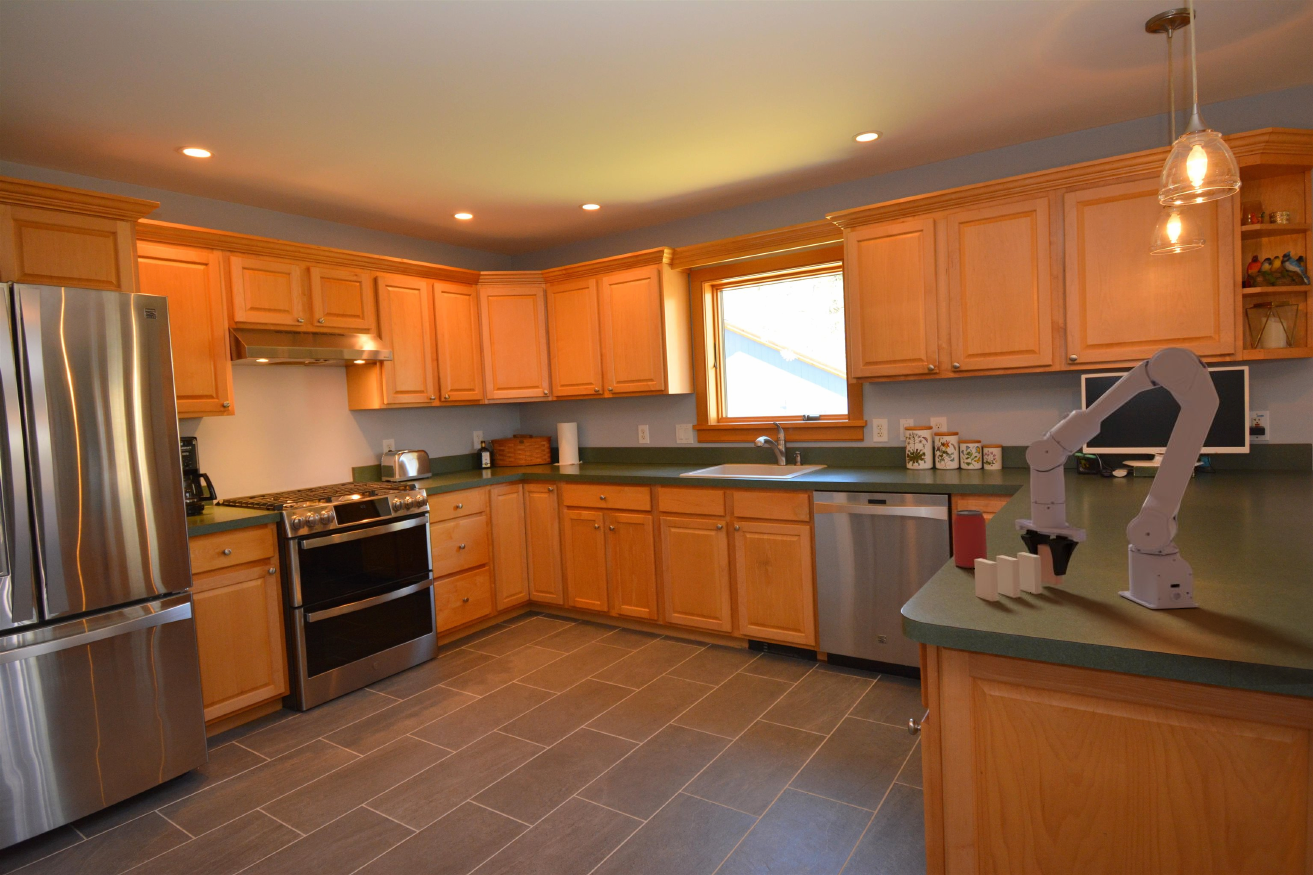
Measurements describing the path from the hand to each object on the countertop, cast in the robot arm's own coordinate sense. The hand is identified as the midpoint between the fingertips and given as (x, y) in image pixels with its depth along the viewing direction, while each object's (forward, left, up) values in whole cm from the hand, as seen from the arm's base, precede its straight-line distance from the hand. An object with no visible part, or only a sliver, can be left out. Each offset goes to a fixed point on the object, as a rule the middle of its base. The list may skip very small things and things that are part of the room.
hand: (1050, 572), depth 135 cm
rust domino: (0, 0, -2) cm, 2 cm away
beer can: (+19, +8, -3) cm, 21 cm away
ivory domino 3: (-2, +5, -3) cm, 6 cm away
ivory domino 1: (-5, +14, -3) cm, 15 cm away
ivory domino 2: (-3, +9, -3) cm, 10 cm away
